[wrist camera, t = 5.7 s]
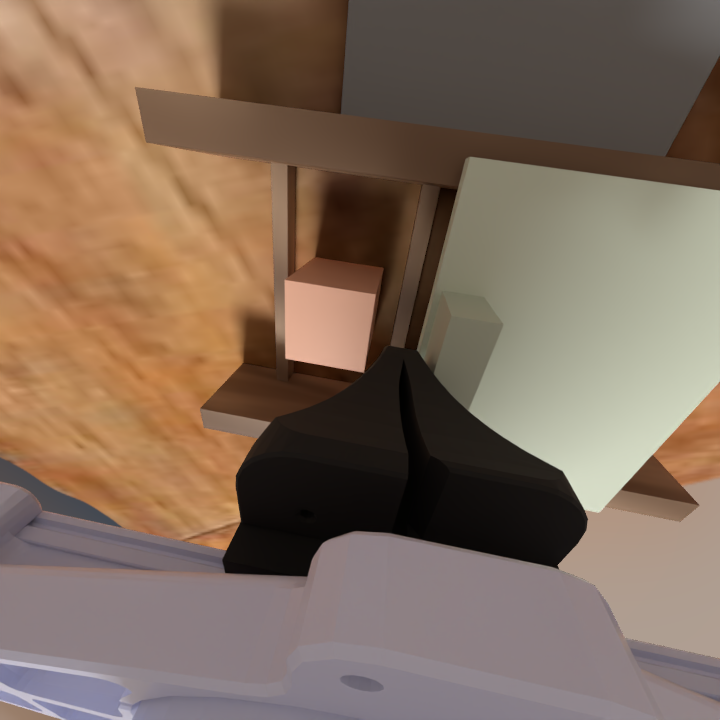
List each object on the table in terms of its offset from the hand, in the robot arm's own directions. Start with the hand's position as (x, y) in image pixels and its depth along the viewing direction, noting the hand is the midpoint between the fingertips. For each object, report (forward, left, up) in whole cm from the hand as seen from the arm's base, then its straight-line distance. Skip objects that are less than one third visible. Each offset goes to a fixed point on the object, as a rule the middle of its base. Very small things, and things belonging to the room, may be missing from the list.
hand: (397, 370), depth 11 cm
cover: (0, -6, -2) cm, 7 cm away
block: (0, +3, -8) cm, 8 cm away
